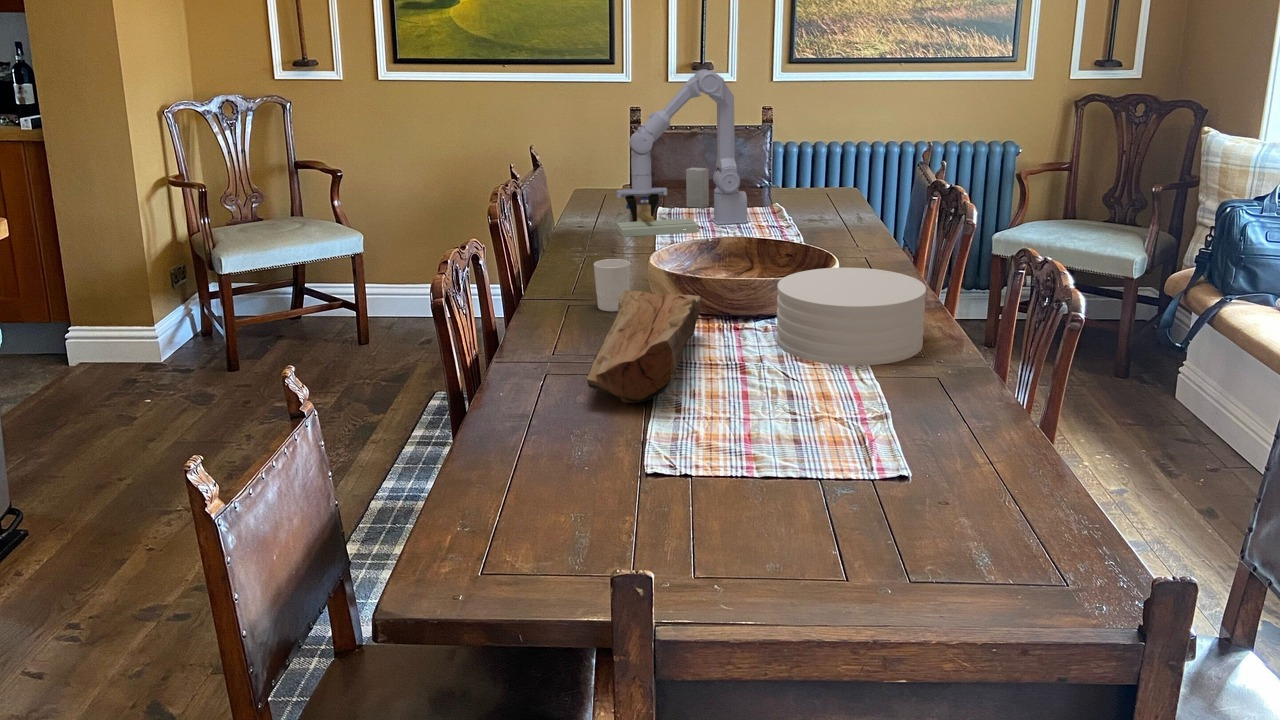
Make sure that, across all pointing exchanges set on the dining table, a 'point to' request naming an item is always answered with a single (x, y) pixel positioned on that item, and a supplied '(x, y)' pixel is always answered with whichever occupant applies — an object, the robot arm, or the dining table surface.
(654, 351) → the log
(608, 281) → the white cup
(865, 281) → the plate stack
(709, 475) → the dining table surface
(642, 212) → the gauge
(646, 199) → the bar clamp
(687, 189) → the skincare box
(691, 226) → the board
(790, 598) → the dining table surface
